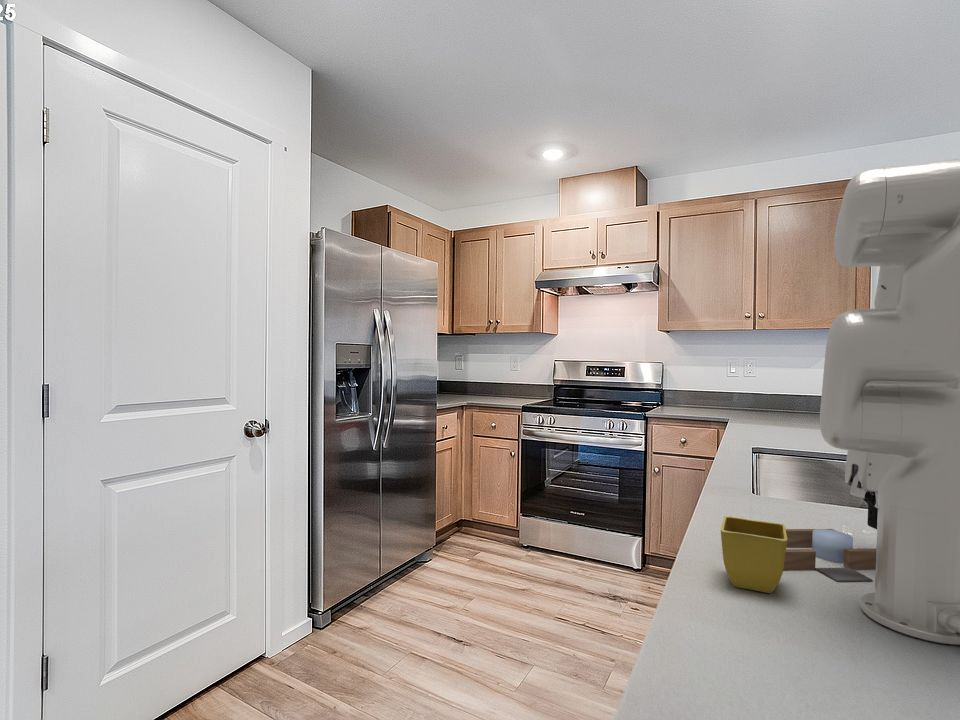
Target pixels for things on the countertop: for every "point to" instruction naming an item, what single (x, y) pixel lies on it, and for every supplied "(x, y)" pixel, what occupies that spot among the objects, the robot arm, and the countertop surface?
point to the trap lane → (807, 561)
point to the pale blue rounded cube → (831, 544)
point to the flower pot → (753, 553)
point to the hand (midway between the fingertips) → (878, 528)
